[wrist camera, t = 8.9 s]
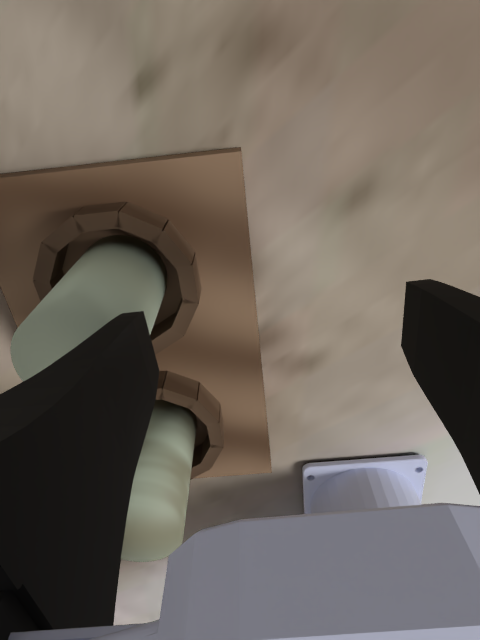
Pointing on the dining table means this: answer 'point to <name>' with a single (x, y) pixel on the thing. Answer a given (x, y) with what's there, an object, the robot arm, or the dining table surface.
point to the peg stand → (160, 311)
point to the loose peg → (90, 301)
